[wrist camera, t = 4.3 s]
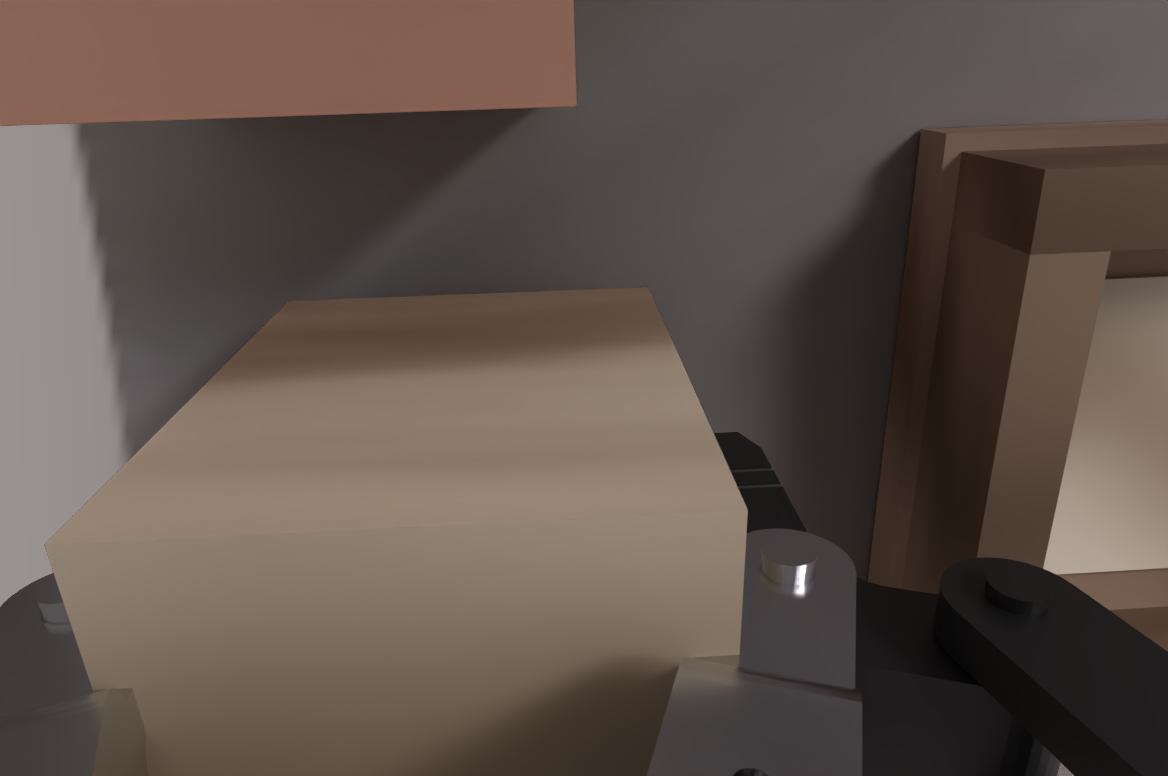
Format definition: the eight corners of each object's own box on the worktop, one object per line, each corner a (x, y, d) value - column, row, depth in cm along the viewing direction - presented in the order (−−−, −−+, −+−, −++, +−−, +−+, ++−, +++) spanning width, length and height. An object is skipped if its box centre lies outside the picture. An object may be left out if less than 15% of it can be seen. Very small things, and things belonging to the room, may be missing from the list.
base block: (288, 301, 11) (44, 544, 6) (648, 286, 11) (746, 510, 6) (340, 598, 13) (195, 994, 8) (647, 582, 13) (721, 959, 8)
